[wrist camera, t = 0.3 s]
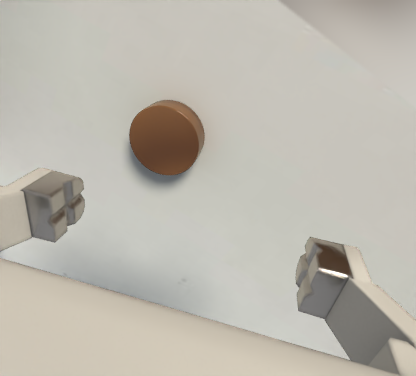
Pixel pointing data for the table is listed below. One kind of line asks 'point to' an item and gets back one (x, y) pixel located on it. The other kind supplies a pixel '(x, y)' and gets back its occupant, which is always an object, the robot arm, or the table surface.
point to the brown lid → (167, 137)
